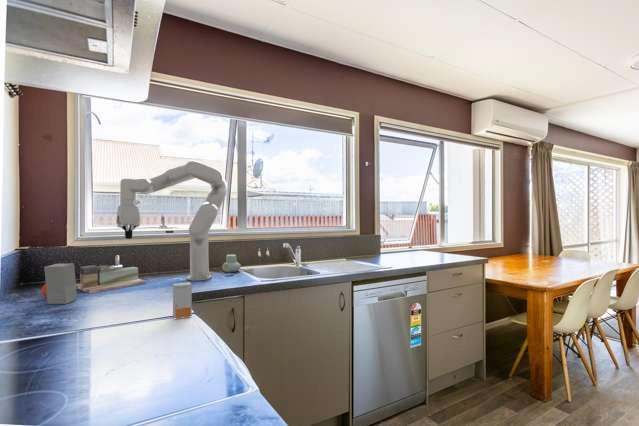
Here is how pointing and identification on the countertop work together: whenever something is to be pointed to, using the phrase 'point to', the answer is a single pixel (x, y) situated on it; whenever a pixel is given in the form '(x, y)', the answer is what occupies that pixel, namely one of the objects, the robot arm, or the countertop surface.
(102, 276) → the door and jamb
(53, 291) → the skincare box
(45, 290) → the clementine
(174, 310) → the skincare box
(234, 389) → the countertop surface
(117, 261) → the bolt
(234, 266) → the air freshener
